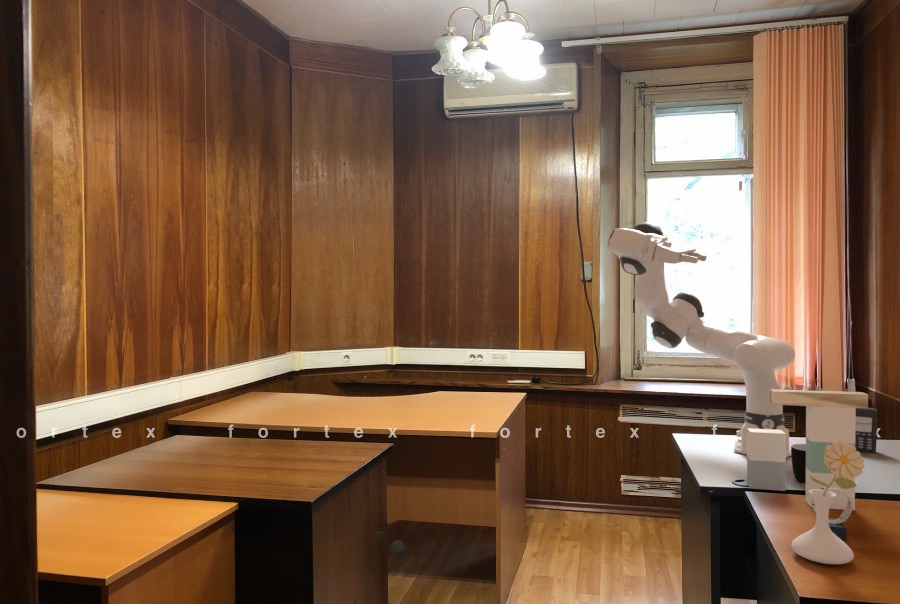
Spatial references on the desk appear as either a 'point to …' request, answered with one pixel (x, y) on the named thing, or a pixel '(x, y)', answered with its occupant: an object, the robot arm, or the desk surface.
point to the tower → (820, 433)
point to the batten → (819, 398)
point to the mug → (799, 462)
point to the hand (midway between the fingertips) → (701, 259)
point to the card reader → (866, 429)
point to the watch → (837, 524)
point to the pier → (766, 459)
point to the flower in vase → (820, 538)
